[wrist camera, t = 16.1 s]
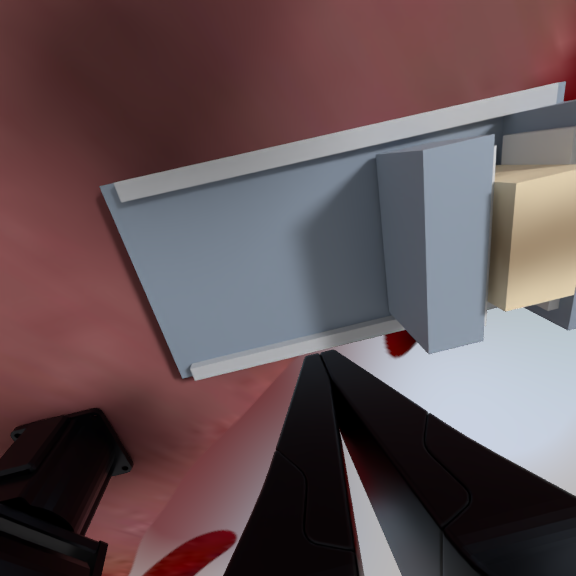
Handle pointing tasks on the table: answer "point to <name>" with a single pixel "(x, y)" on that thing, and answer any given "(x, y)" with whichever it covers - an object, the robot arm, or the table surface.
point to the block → (532, 235)
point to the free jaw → (438, 238)
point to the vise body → (303, 233)
